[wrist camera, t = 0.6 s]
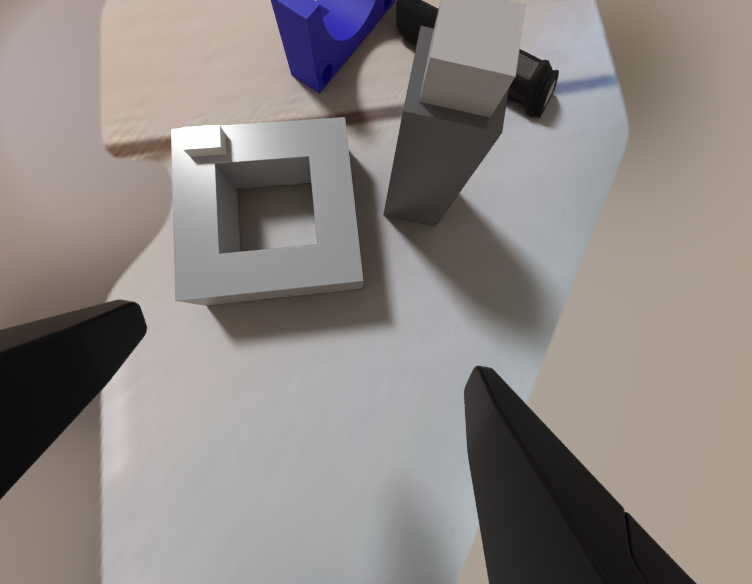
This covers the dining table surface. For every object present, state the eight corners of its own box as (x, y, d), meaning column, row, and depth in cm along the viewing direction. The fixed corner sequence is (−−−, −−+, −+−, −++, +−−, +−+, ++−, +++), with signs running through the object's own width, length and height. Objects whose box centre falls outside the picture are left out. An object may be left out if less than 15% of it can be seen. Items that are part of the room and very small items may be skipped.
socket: (363, 288, 22) (363, 278, 18) (205, 305, 21) (166, 299, 17) (347, 148, 24) (344, 108, 19) (200, 159, 23) (163, 120, 18)
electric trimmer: (405, 15, 26) (411, -28, 23) (552, 93, 26) (578, 60, 22) (385, 44, 26) (388, 5, 23) (535, 125, 25) (559, 95, 22)
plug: (435, 225, 23) (529, 94, 10) (383, 215, 23) (411, 67, 10) (444, 177, 24) (542, -5, 11) (393, 166, 24) (431, -31, 11)
